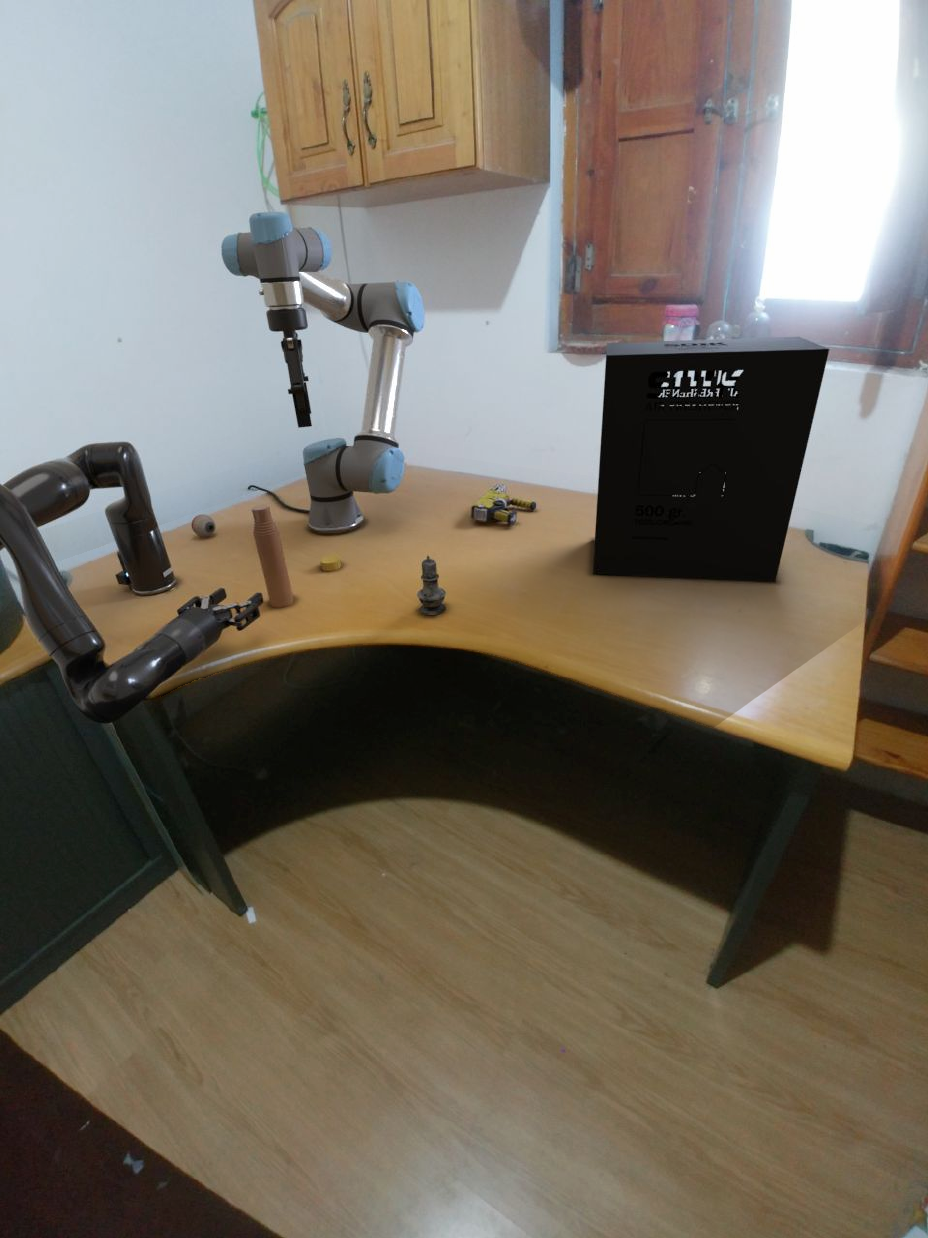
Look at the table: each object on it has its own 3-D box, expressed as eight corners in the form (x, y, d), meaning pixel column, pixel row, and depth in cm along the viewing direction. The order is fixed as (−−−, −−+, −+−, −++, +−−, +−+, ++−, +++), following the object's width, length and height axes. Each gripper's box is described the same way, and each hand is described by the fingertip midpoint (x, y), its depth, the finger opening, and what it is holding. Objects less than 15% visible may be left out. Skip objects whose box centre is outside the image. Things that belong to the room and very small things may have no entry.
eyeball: (204, 541, 163) (198, 520, 160) (190, 537, 166) (184, 517, 163) (223, 533, 168) (217, 513, 165) (208, 530, 171) (202, 510, 168)
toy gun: (544, 489, 177) (495, 482, 181) (524, 514, 157) (469, 505, 161) (542, 504, 180) (494, 497, 183) (522, 531, 159) (468, 521, 163)
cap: (317, 567, 145) (316, 560, 144) (333, 561, 148) (332, 553, 147) (329, 572, 142) (327, 565, 141) (344, 566, 145) (343, 558, 144)
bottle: (284, 594, 134) (263, 501, 123) (298, 600, 131) (278, 505, 120) (265, 603, 130) (242, 508, 120) (279, 609, 128) (257, 513, 117)
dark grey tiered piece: (443, 616, 121) (439, 562, 115) (415, 615, 122) (409, 561, 116) (449, 602, 126) (446, 549, 120) (422, 601, 127) (417, 548, 121)
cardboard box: (755, 543, 144) (798, 336, 121) (775, 581, 127) (829, 348, 104) (594, 538, 151) (606, 342, 129) (592, 573, 134) (606, 355, 112)
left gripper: (214, 623, 101) (269, 580, 114) (146, 614, 105) (207, 573, 118) (225, 660, 104) (277, 614, 118) (159, 650, 108) (217, 607, 122)
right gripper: (268, 306, 127) (288, 410, 138) (261, 311, 106) (285, 434, 117) (304, 304, 129) (321, 407, 139) (304, 309, 107) (324, 430, 118)
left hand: (242, 594), depth 118 cm, fingers open, 8 cm apart
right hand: (305, 420), depth 128 cm, fingers open, 13 cm apart
